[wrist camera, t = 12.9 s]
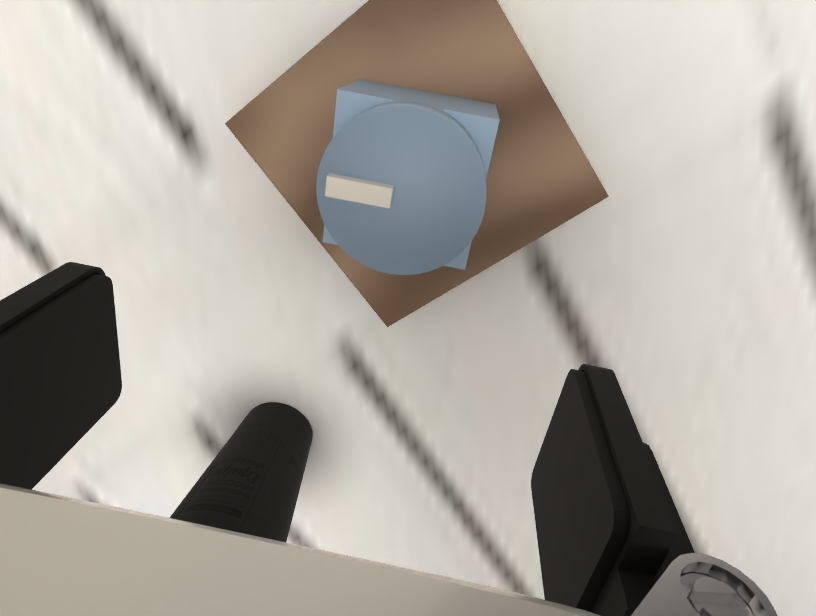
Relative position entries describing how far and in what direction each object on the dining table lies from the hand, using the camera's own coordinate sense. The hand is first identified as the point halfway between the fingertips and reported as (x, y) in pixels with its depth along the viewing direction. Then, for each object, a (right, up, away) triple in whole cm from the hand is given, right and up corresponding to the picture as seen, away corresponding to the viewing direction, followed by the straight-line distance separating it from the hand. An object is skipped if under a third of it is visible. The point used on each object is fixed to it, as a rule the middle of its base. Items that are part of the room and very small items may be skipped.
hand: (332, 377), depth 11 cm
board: (+2, +9, +18) cm, 20 cm away
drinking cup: (-7, -7, +28) cm, 30 cm away
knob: (+2, +9, +17) cm, 19 cm away
